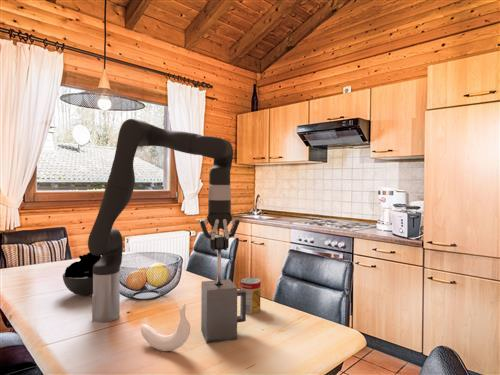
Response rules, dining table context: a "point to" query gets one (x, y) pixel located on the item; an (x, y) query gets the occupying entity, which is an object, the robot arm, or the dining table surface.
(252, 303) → the canned food
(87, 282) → the bowl of black rocks
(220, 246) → the plunger
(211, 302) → the press jar
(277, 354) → the dining table surface
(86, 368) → the dining table surface
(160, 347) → the banana
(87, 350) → the dining table surface
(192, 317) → the dining table surface
